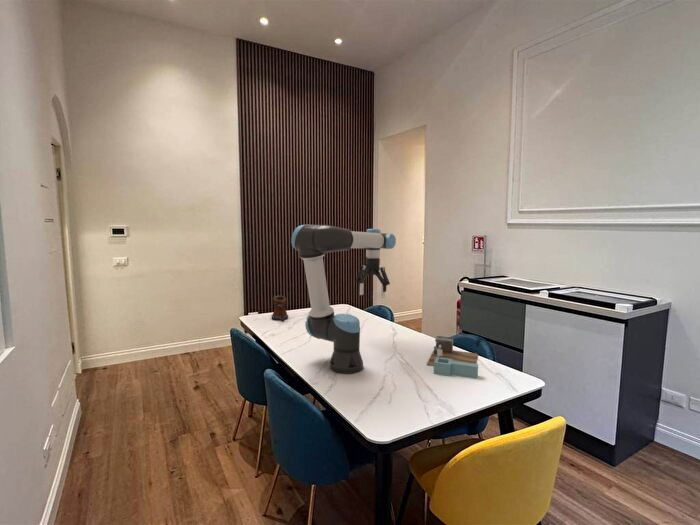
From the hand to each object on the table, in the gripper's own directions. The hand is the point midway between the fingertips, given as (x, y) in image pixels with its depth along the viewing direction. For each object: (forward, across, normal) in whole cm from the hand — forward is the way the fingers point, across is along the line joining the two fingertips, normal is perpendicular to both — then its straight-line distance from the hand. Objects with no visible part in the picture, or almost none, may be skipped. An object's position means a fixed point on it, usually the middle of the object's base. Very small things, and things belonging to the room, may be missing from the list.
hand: (372, 296), depth 208 cm
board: (+25, -47, +2) cm, 53 cm away
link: (+25, -54, +18) cm, 62 cm away
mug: (+25, +71, -3) cm, 76 cm away
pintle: (+25, -43, +10) cm, 51 cm away
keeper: (+24, -40, -4) cm, 47 cm away
